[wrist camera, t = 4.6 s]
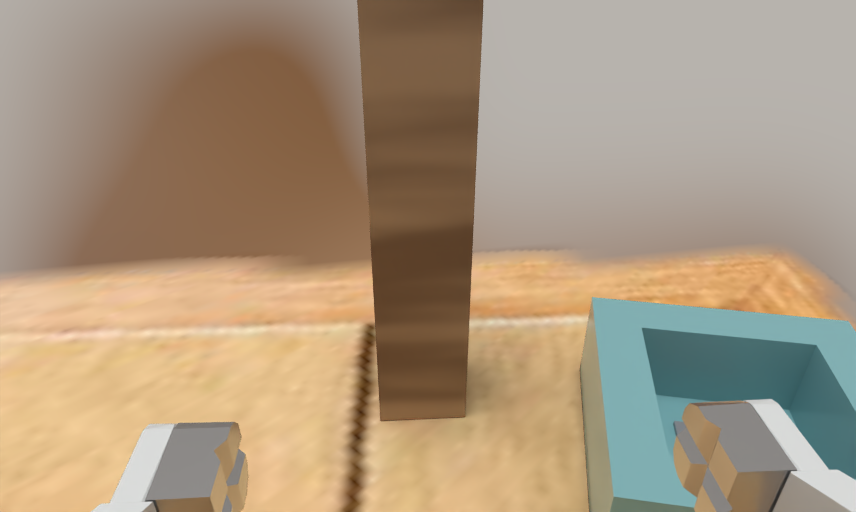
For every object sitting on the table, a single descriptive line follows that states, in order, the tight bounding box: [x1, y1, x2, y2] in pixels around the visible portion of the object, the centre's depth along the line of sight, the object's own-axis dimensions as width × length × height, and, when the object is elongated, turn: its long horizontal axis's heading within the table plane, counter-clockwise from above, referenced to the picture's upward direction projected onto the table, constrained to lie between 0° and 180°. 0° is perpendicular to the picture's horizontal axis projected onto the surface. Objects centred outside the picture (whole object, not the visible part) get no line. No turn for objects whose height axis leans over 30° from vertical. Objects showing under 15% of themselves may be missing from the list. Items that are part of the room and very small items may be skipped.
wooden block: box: [357, 0, 483, 421], centre depth 22 cm, size 4×4×18 cm
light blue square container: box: [580, 297, 856, 512], centre depth 22 cm, size 10×10×4 cm
